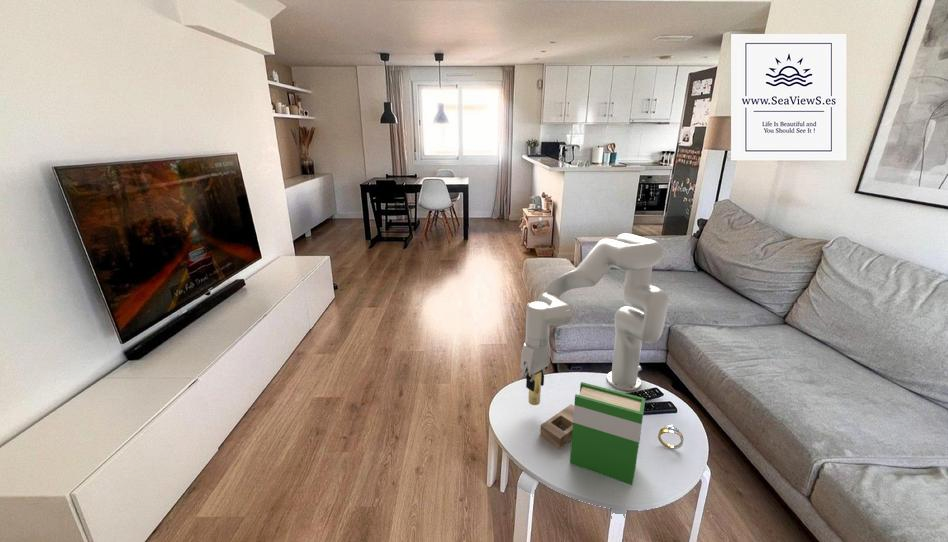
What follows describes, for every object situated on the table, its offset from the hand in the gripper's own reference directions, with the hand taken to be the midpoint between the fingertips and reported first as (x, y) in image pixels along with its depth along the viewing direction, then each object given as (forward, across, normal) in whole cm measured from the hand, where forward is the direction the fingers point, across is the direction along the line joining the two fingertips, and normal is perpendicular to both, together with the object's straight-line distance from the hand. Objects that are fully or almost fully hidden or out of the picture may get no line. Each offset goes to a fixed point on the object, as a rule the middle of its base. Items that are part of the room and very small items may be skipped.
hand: (534, 386), depth 136 cm
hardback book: (+12, +1, +28) cm, 31 cm away
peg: (+6, 0, 0) cm, 6 cm away
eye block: (+12, -2, +12) cm, 17 cm away
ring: (+12, -20, +38) cm, 45 cm away
